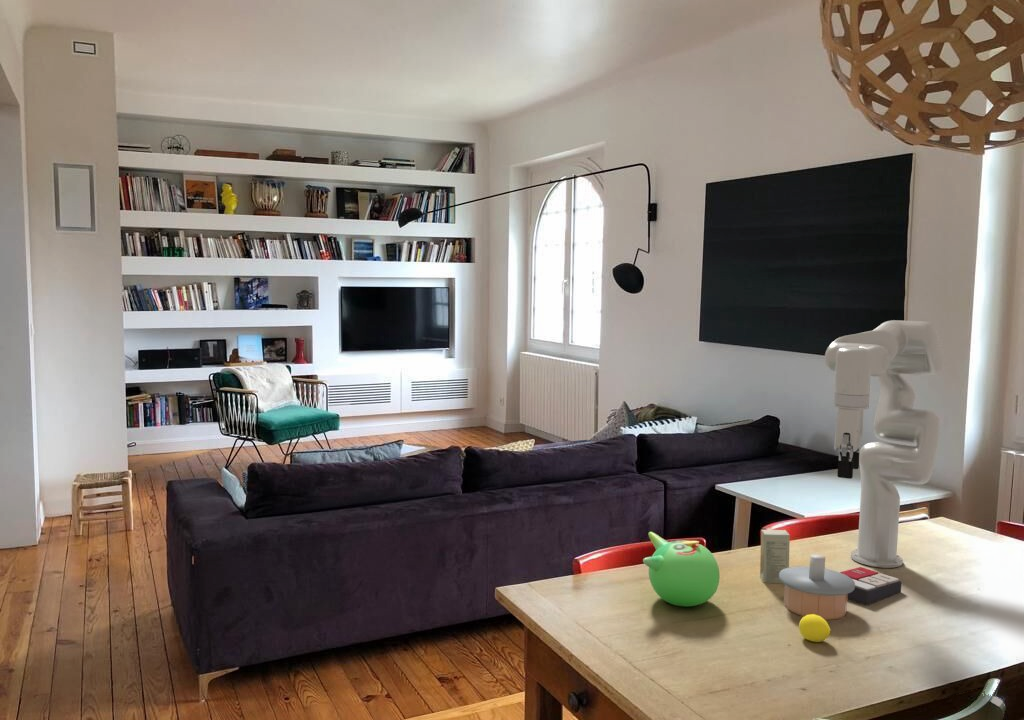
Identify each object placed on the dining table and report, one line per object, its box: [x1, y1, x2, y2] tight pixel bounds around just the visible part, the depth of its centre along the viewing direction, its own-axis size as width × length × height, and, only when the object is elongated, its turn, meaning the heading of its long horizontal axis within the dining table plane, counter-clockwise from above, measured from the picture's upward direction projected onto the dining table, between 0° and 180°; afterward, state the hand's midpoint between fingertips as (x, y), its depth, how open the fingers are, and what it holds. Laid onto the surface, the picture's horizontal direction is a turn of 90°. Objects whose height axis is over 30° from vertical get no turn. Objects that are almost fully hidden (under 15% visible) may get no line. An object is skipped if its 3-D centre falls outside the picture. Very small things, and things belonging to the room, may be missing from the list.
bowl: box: [783, 584, 849, 621], centre depth 186 cm, size 13×13×6 cm
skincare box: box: [759, 529, 791, 584], centre depth 203 cm, size 6×4×12 cm
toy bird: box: [642, 531, 721, 608], centre depth 188 cm, size 18×17×15 cm
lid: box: [779, 554, 855, 596], centre depth 185 cm, size 16×16×6 cm
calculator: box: [838, 566, 903, 606], centre depth 197 cm, size 11×4×15 cm
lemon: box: [798, 614, 832, 643], centre depth 169 cm, size 7×5×5 cm
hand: (848, 472), depth 193 cm, fingers open, 9 cm apart
